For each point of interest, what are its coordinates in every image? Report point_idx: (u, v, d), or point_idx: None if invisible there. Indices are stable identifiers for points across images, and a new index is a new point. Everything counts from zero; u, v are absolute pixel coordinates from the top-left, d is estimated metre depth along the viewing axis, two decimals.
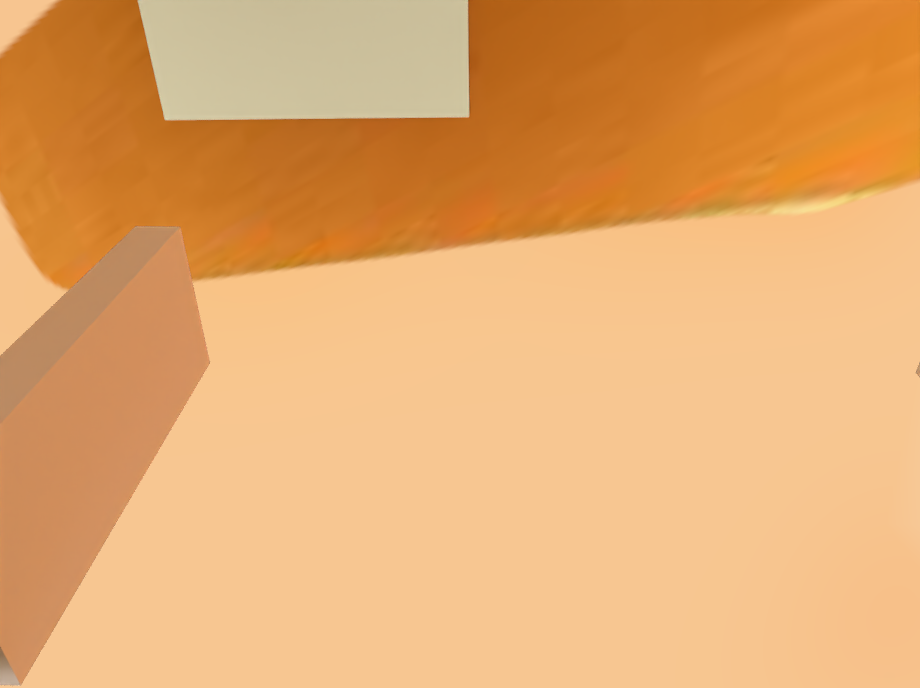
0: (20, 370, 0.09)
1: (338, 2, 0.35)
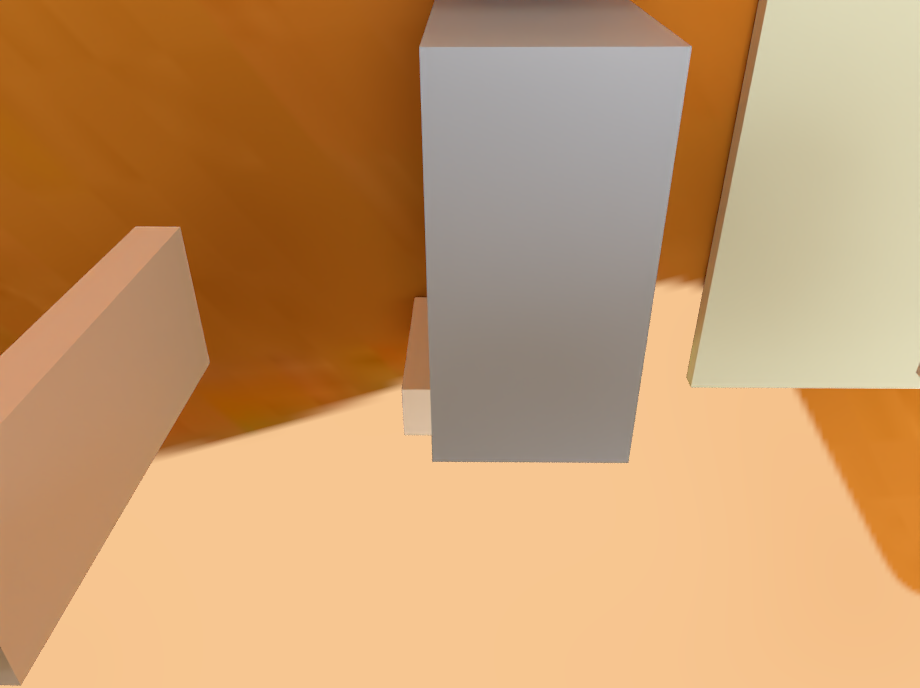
0: (20, 370, 0.09)
1: None
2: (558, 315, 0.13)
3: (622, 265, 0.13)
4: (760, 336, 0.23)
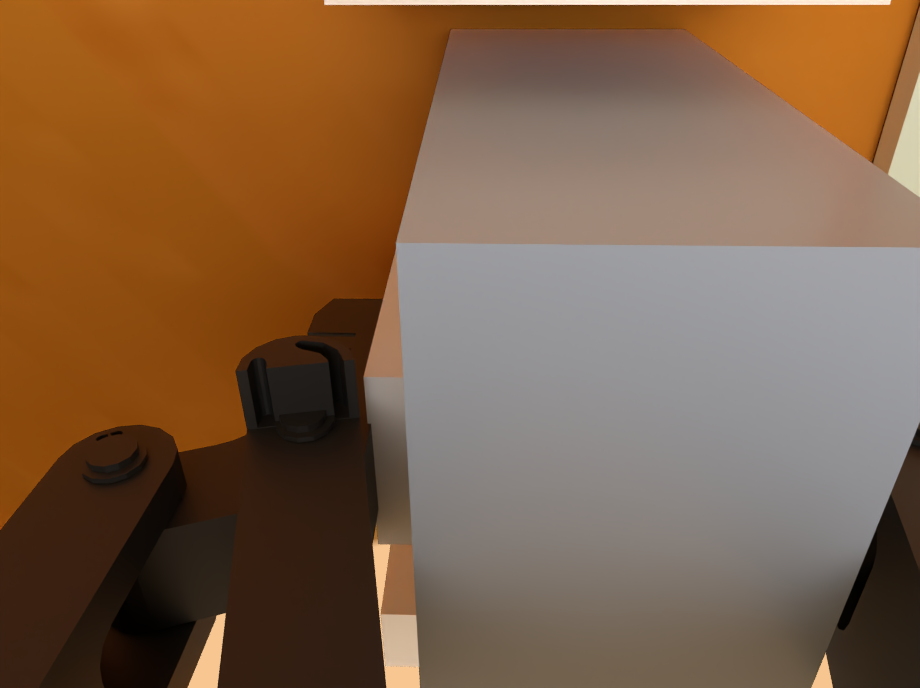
0: None
1: None
2: (651, 663, 0.07)
3: (779, 599, 0.07)
4: None
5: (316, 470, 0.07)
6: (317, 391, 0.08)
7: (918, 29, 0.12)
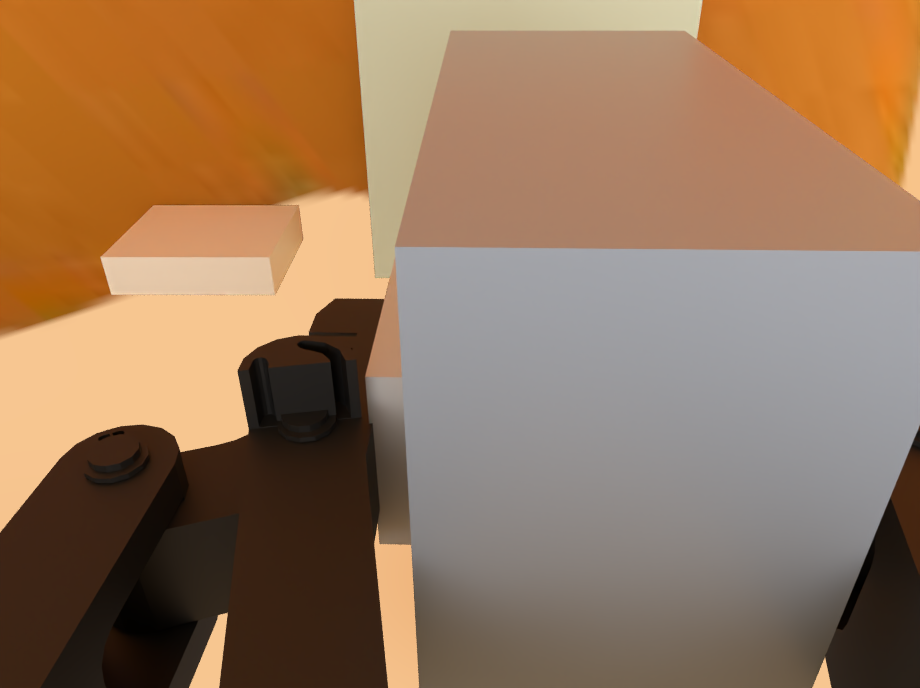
0: None
1: (540, 28, 0.26)
2: (651, 666, 0.07)
3: (779, 602, 0.07)
4: None
5: (318, 470, 0.07)
6: (319, 391, 0.08)
7: None
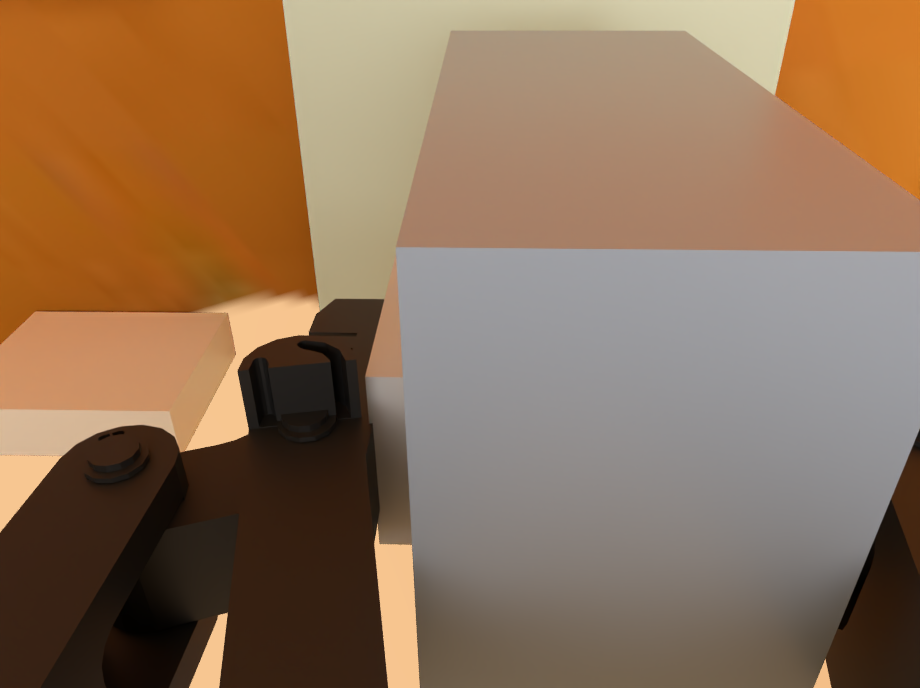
0: None
1: None
2: (652, 665, 0.07)
3: (780, 602, 0.07)
4: None
5: (318, 469, 0.07)
6: (319, 390, 0.08)
7: None
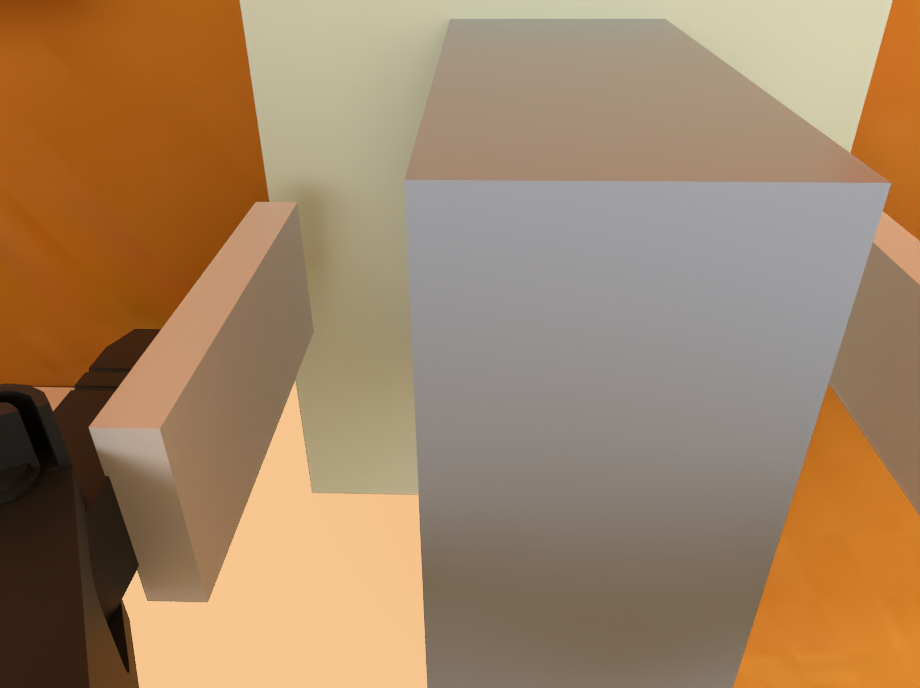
0: (198, 322, 0.10)
1: None
2: (625, 563, 0.08)
3: (733, 501, 0.08)
4: (375, 437, 0.19)
5: (18, 531, 0.07)
6: (12, 444, 0.07)
7: (248, 16, 0.14)
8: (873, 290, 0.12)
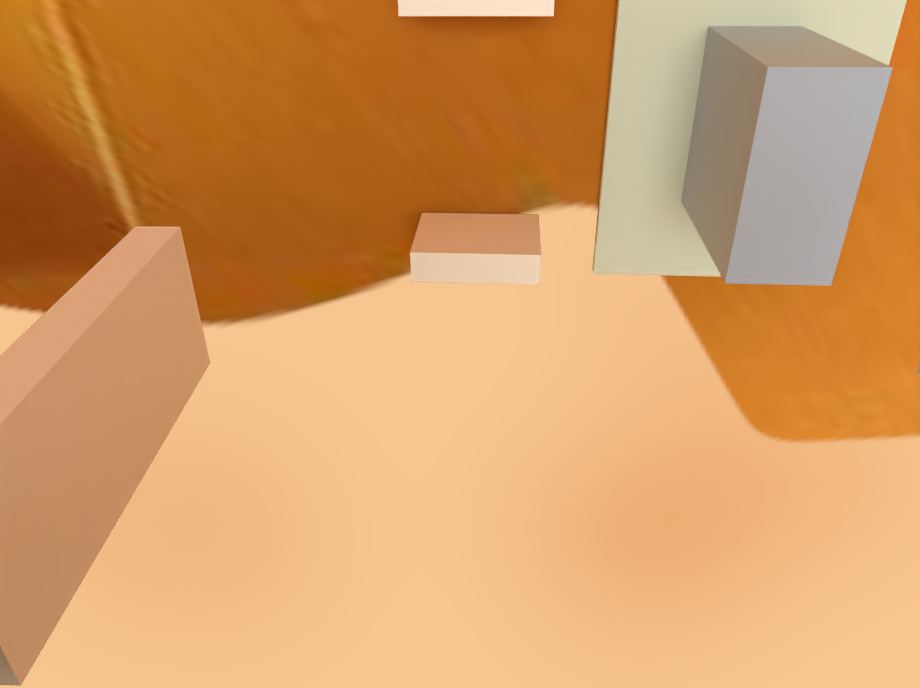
0: (20, 370, 0.09)
1: None
2: (808, 198, 0.27)
3: (845, 172, 0.26)
4: (633, 239, 0.37)
5: None
6: None
7: (615, 25, 0.33)
8: None
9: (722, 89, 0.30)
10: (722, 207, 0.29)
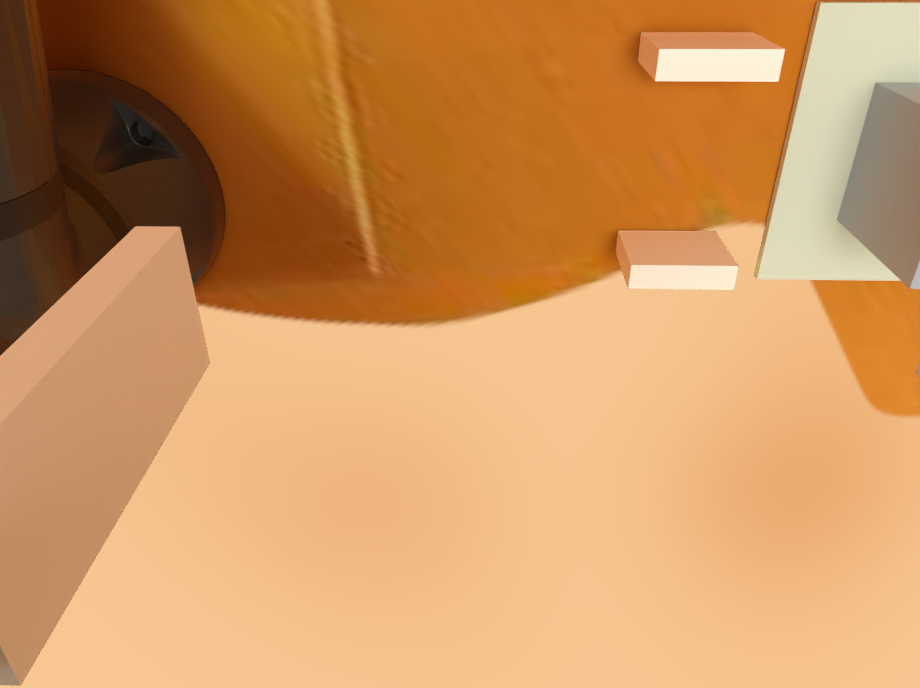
0: (20, 370, 0.09)
1: None
2: None
3: None
4: (793, 251, 0.46)
5: None
6: None
7: (799, 80, 0.41)
8: None
9: (900, 136, 0.38)
10: (904, 229, 0.37)
